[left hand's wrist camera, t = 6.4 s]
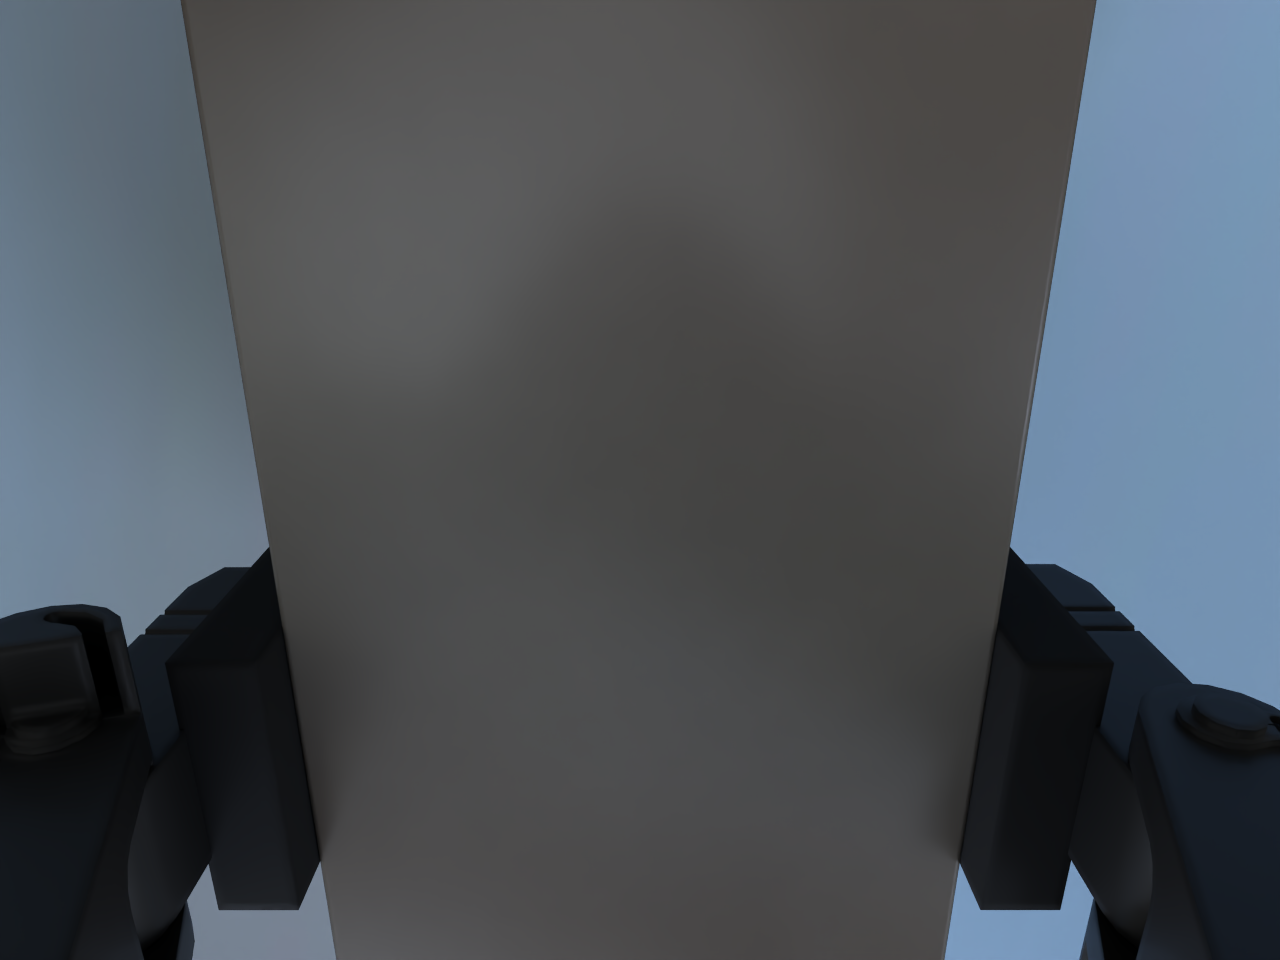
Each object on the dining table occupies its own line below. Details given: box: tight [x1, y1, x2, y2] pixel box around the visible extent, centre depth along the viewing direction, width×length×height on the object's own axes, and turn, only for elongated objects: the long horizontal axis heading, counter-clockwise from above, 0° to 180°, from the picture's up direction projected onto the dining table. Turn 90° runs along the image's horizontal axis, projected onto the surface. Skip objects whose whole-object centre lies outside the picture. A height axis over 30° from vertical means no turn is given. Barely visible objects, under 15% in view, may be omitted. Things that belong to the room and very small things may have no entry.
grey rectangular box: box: [181, 0, 1096, 960], centre depth 12 cm, size 21×6×12 cm, turn 0°
